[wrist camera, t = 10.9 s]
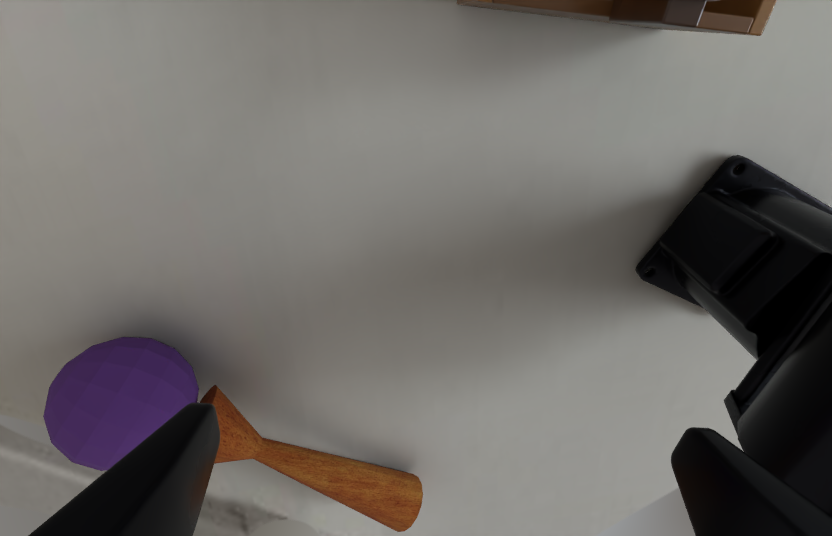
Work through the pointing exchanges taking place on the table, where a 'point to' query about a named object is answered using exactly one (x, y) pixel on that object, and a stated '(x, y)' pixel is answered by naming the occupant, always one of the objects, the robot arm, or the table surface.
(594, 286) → the table surface
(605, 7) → the wooden basket with handle
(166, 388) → the kendama
